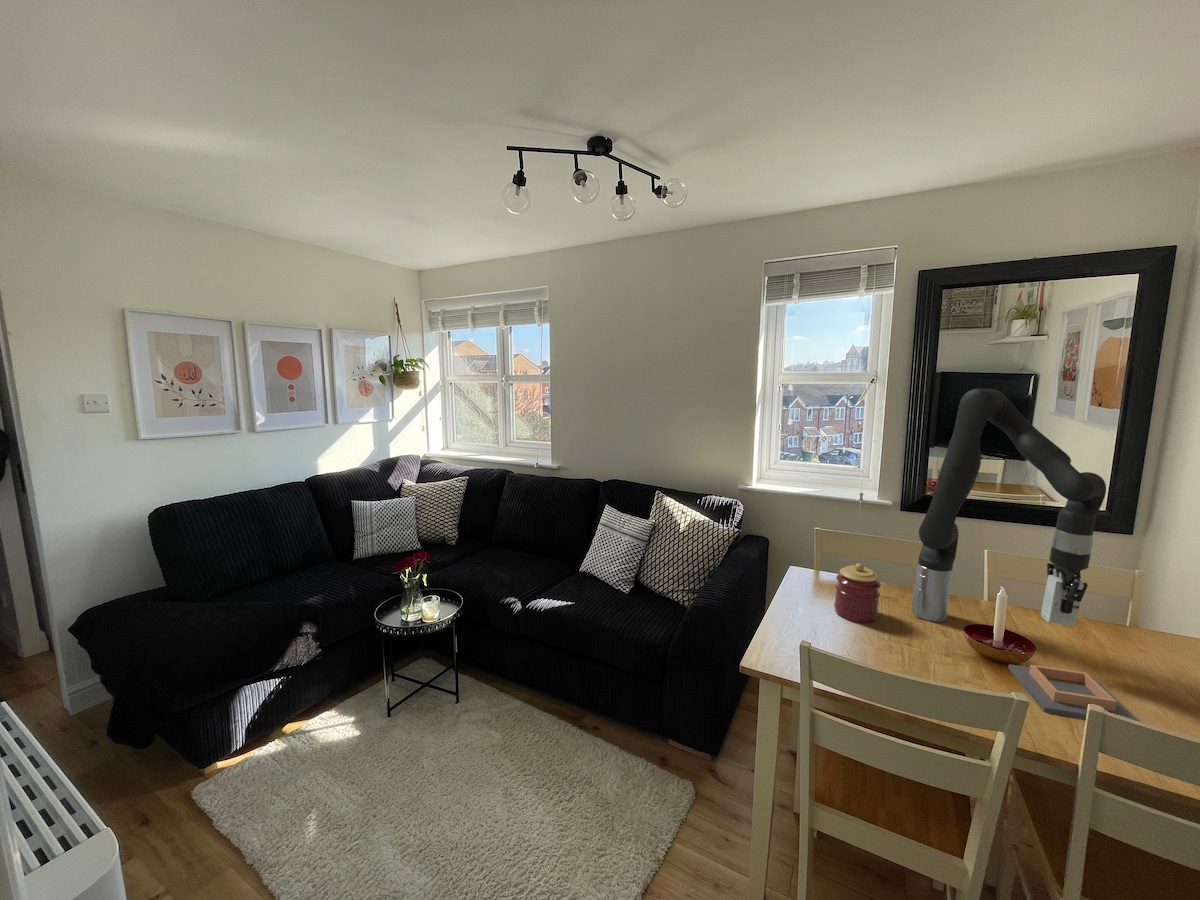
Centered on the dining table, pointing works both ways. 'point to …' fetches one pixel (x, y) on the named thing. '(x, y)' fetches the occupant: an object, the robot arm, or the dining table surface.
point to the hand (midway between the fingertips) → (1060, 608)
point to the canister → (857, 594)
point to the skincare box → (1057, 604)
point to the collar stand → (1066, 691)
